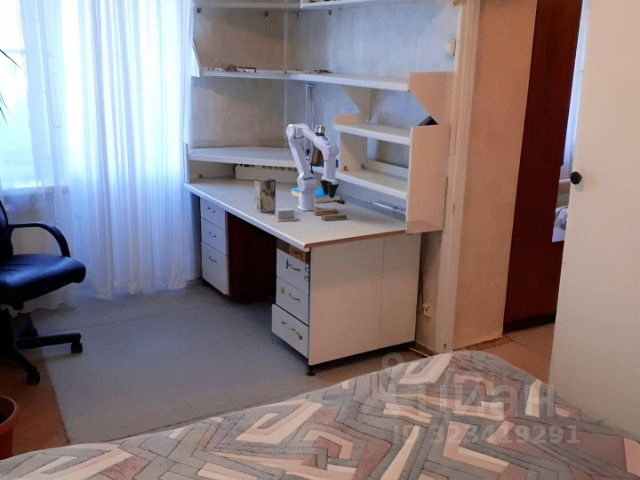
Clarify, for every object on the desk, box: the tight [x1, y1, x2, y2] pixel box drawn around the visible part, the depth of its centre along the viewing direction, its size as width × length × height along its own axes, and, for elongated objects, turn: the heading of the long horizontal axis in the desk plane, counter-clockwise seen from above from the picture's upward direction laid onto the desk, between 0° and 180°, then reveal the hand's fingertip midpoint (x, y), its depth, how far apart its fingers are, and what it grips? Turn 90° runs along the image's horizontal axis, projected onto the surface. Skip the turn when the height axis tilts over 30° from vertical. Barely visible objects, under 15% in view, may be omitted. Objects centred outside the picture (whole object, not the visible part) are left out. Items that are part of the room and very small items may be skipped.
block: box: [274, 207, 295, 219], centre depth 322 cm, size 5×8×4 cm, turn 112°
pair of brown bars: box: [313, 208, 348, 222], centre depth 329 cm, size 14×12×2 cm
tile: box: [271, 214, 299, 223], centre depth 323 cm, size 10×10×1 cm
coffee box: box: [253, 177, 277, 213], centre depth 336 cm, size 9×6×16 cm
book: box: [290, 186, 341, 204], centre depth 372 cm, size 17×4×25 cm
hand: (328, 196), depth 331 cm, fingers open, 7 cm apart
